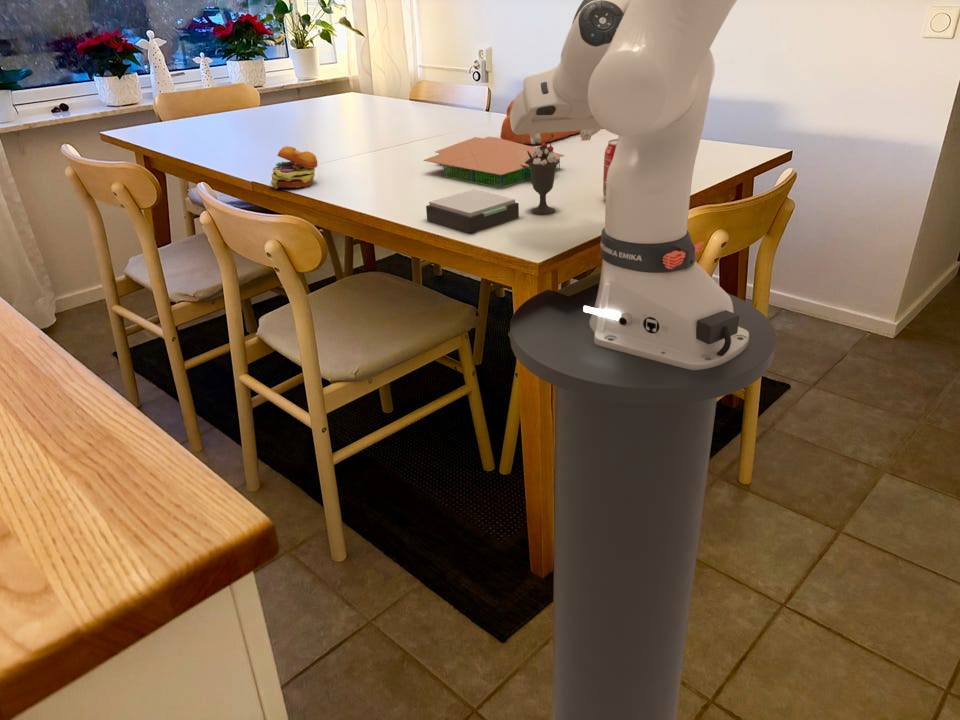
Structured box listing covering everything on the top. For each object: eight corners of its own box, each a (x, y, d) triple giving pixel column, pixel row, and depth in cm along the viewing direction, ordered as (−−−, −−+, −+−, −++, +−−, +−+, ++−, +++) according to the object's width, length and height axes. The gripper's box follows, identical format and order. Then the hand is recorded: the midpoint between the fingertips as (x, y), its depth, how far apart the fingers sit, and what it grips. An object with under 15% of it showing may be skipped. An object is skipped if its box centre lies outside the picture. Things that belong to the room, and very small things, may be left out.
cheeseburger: (263, 184, 178) (265, 142, 175) (304, 187, 184) (307, 146, 181) (279, 192, 170) (282, 147, 167) (322, 194, 177) (325, 152, 173)
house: (510, 191, 164) (510, 153, 160) (412, 171, 185) (409, 137, 181) (573, 170, 179) (574, 135, 175) (475, 153, 199) (474, 122, 195)
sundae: (566, 210, 150) (567, 134, 143) (544, 217, 146) (544, 140, 139) (541, 204, 154) (541, 130, 147) (519, 211, 150) (518, 136, 143)
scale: (519, 218, 146) (519, 199, 145) (471, 234, 139) (470, 214, 137) (474, 206, 155) (473, 188, 153) (426, 220, 147) (425, 201, 146)
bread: (494, 141, 212) (493, 93, 206) (557, 123, 233) (557, 79, 227) (538, 147, 203) (538, 97, 197) (599, 127, 224) (601, 82, 218)
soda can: (643, 198, 155) (647, 140, 149) (624, 206, 150) (627, 146, 145) (615, 193, 159) (617, 136, 154) (595, 201, 155) (597, 142, 149)
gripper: (633, 71, 125) (610, 120, 138) (515, 77, 122) (503, 127, 135) (641, 103, 123) (617, 150, 136) (521, 110, 120) (508, 157, 133)
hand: (559, 139), depth 135 cm, fingers open, 8 cm apart
